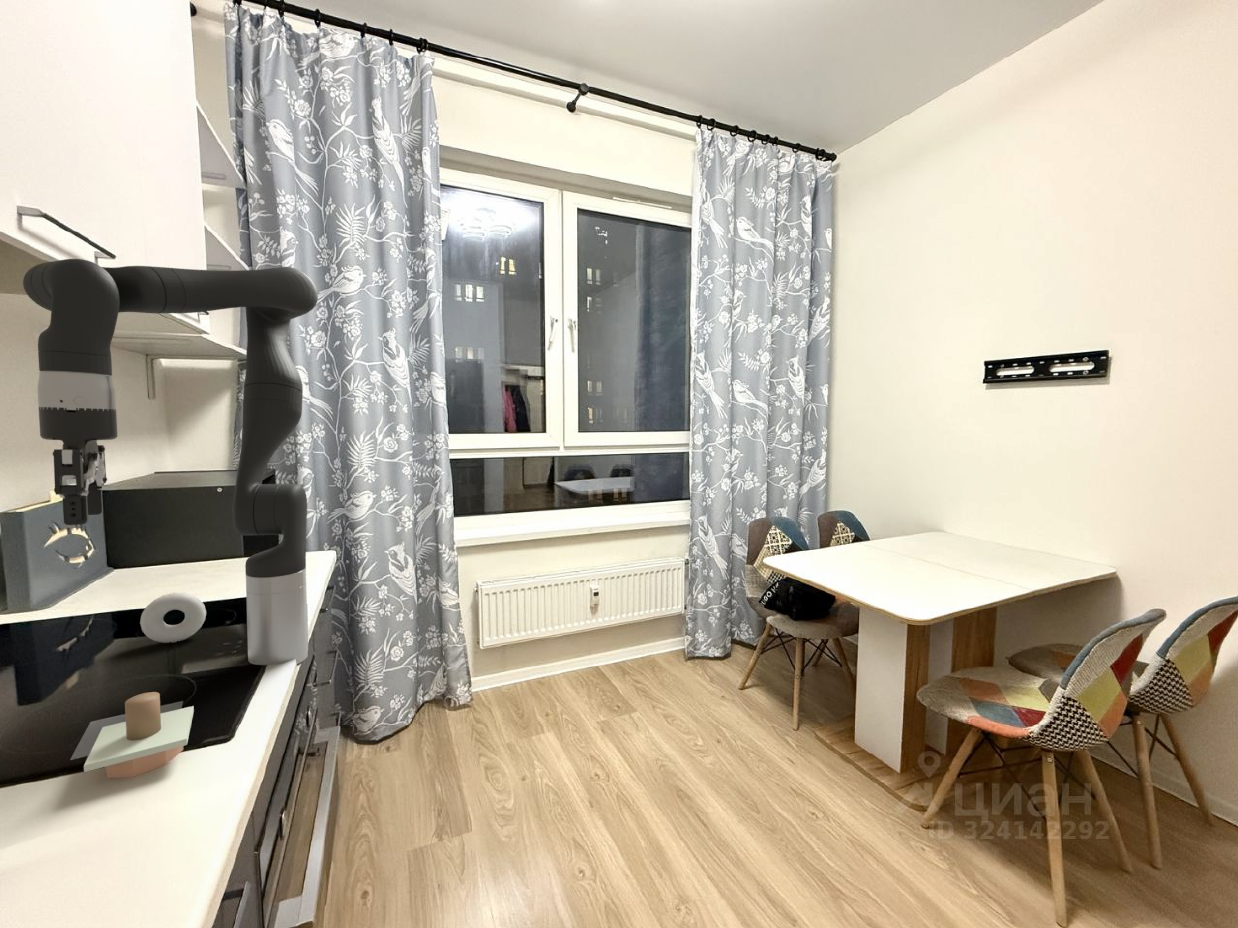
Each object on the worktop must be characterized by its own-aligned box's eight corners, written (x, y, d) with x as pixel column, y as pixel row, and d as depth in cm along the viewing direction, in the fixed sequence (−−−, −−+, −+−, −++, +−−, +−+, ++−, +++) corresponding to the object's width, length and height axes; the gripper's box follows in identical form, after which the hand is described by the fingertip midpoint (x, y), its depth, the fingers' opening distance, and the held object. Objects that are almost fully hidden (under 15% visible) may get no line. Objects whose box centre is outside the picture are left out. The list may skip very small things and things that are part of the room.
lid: (103, 732, 65) (101, 693, 65) (193, 711, 70) (192, 674, 70) (84, 772, 58) (81, 727, 57) (187, 744, 63) (185, 703, 63)
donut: (207, 633, 106) (206, 586, 105) (206, 638, 103) (204, 591, 102) (142, 644, 100) (140, 595, 99) (139, 650, 97) (137, 600, 96)
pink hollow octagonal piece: (138, 752, 67) (137, 723, 67) (195, 750, 68) (194, 721, 68) (89, 789, 61) (87, 757, 60) (153, 786, 61) (151, 755, 61)
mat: (91, 731, 72) (90, 721, 72) (183, 710, 78) (183, 700, 77) (70, 771, 64) (69, 759, 64) (175, 743, 69) (174, 733, 69)
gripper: (55, 406, 75) (61, 513, 76) (20, 403, 63) (27, 530, 65) (125, 408, 79) (130, 510, 80) (104, 406, 68) (110, 525, 69)
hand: (84, 519), depth 72 cm, fingers open, 8 cm apart
